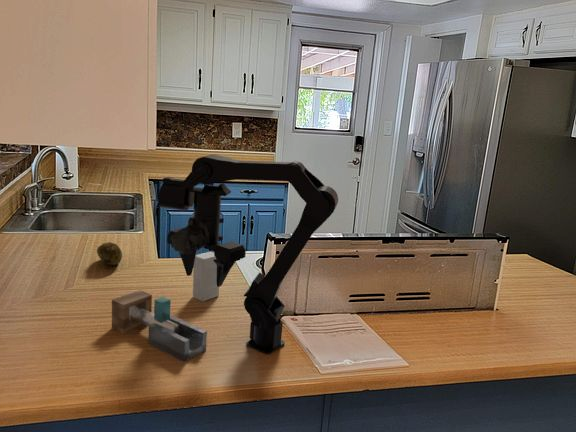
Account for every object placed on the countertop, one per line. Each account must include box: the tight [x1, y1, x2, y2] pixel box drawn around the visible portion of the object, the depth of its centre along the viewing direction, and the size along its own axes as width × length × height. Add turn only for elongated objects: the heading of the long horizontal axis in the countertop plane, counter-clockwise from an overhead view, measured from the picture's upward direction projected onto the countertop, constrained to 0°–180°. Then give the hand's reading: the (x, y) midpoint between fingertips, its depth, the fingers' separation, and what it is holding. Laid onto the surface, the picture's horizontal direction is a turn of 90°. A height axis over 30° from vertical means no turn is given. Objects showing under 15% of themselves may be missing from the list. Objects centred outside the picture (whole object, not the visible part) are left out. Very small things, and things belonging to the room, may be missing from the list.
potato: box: [96, 241, 123, 266], centre depth 149 cm, size 8×13×8 cm, turn 4°
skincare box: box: [192, 250, 220, 302], centre depth 132 cm, size 6×4×12 cm
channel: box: [147, 315, 208, 363], centre depth 105 cm, size 11×6×4 cm, turn 56°
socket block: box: [111, 289, 153, 335], centre depth 113 cm, size 4×8×7 cm, turn 146°
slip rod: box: [129, 296, 180, 334], centre depth 109 cm, size 15×3×8 cm, turn 56°
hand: (203, 280), depth 110 cm, fingers open, 9 cm apart
